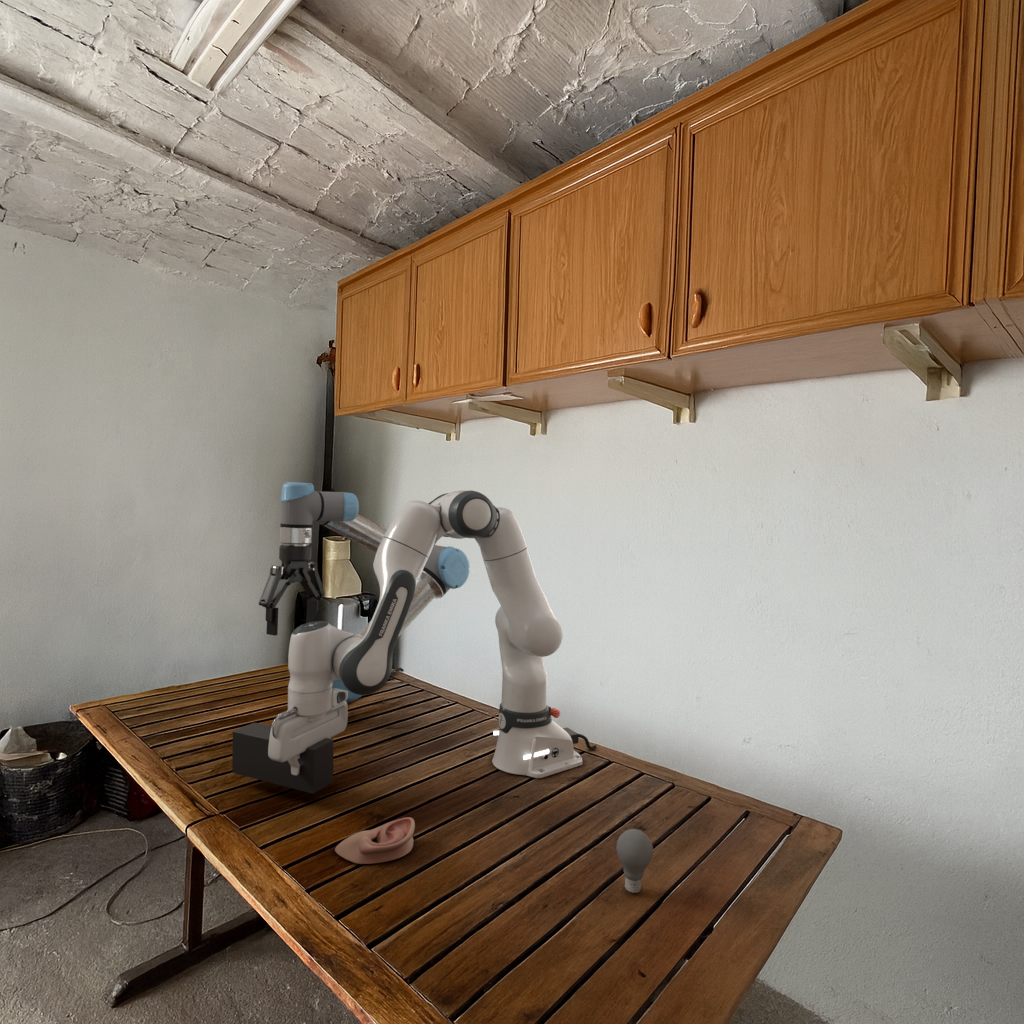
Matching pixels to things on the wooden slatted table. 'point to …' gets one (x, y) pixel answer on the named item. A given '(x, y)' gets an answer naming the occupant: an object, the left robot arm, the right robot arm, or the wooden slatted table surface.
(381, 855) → the anatomical model
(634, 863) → the light bulb
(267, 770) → the box
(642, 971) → the wooden slatted table surface
